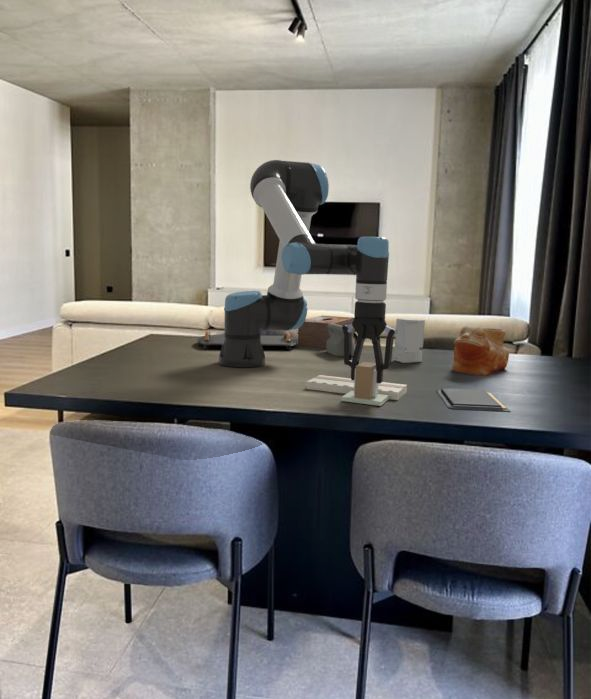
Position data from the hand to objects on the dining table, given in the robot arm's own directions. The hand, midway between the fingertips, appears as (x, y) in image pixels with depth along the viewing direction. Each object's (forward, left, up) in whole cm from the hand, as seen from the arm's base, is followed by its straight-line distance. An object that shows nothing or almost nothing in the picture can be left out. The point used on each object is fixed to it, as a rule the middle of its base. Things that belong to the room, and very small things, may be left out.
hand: (365, 394), depth 147 cm
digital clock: (-28, +64, -2) cm, 69 cm away
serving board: (-66, +61, -2) cm, 90 cm away
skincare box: (-3, +61, -2) cm, 62 cm away
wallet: (+24, +13, -3) cm, 28 cm away
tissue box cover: (-42, +85, -2) cm, 95 cm away
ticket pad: (-5, +9, -2) cm, 11 cm away
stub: (0, 0, -2) cm, 2 cm away
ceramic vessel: (+21, +58, -2) cm, 62 cm away
